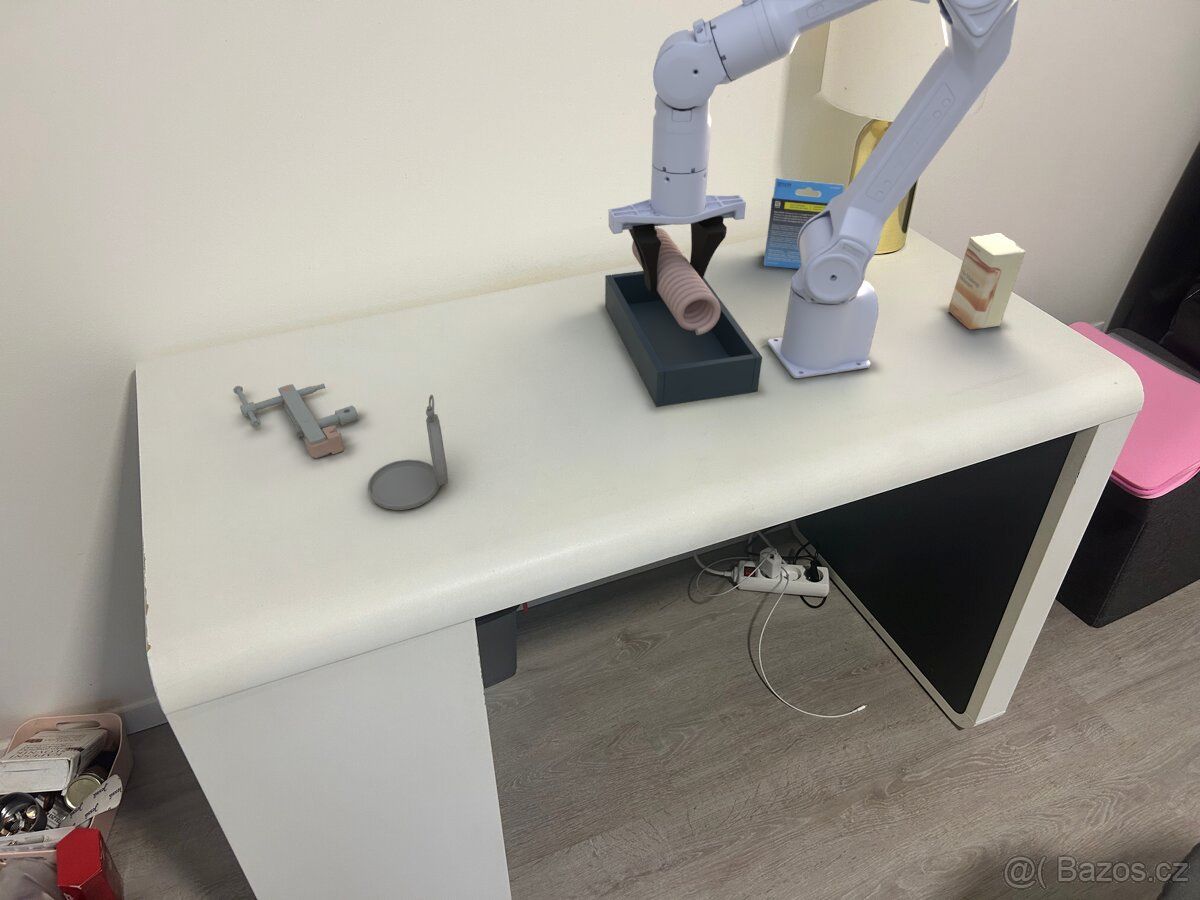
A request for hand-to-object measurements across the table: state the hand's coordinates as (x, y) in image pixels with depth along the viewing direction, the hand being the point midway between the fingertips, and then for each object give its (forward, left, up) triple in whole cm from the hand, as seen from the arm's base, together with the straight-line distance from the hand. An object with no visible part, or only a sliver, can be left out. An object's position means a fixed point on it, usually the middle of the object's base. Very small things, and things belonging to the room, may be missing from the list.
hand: (673, 284), depth 94 cm
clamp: (+42, +4, -8) cm, 43 cm away
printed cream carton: (-38, +3, -8) cm, 39 cm away
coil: (0, 0, -2) cm, 2 cm away
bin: (-1, 0, -8) cm, 8 cm away
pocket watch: (+31, +18, -8) cm, 37 cm away
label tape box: (-23, -16, -8) cm, 29 cm away
